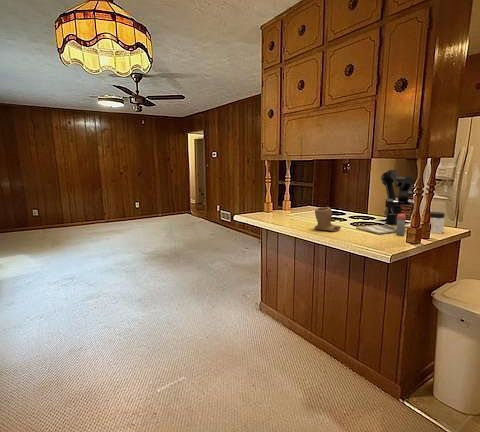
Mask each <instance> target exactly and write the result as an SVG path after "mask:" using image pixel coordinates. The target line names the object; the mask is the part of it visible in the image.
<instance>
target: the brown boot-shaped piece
mask: <svg viewBox="0 0 480 432" xmlns="http://www.w3.org/2000/svg"><path fill="white" fill-rule="evenodd" d="M332 210H333V209H332V208H331V207H329V206H326V207H323V206H321V207H317V208H315V210H314V217H315V219H316V222H317V225H315V226H314V229H315V230H321V231H326V232H327V231H328V232H337V231H339V230H340V229H341V228H342V227H341V226H340V225H335V224H332V223H331V222H332V216H333V211H332Z"/></svg>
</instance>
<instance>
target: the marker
mask: <svg viewBox="0 0 480 432" xmlns="http://www.w3.org/2000/svg"><path fill="white" fill-rule="evenodd" d="M406 217H407V216H406V214H405V213H401V214H398V216H397V225H396V229H397V230H396V233H395V235H396V236H398V237H404V236H405V226H406V225H405V224H406Z"/></svg>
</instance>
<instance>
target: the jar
mask: <svg viewBox="0 0 480 432" xmlns="http://www.w3.org/2000/svg"><path fill="white" fill-rule="evenodd" d="M430 212H431V234H439V233H441V234H443V233H444V229H445V219H446V218H445V215H446V213H445V212H443V211H430Z"/></svg>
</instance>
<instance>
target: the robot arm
mask: <svg viewBox="0 0 480 432" xmlns="http://www.w3.org/2000/svg"><path fill="white" fill-rule="evenodd" d="M397 171H398V170H396V169H388V170H387V171H386V172H383V173H382V174H381V176H380V180H381V184H383V186H385V190H386V196H387V198H386V199H385V210H384V216H386V222H384V225H385V224H386V225H388V226H389V225H390V226H397V216H398V214H402V207H401V206H409V207H410V206H411V209H410V215H409V216H412V214H413V213H412V210H413V201H409V198H412V195H413V191H412V190H411V189H412V187H413V186H414V184H415V182H416V181H415V179H414V178H412V177H410V175H408V176H407V175H406V176H405V177H403V176H402V175H400V174H399V173H398V172H397ZM394 186H395V188H398V194H397V199H396V194H395V189H394Z"/></svg>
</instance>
